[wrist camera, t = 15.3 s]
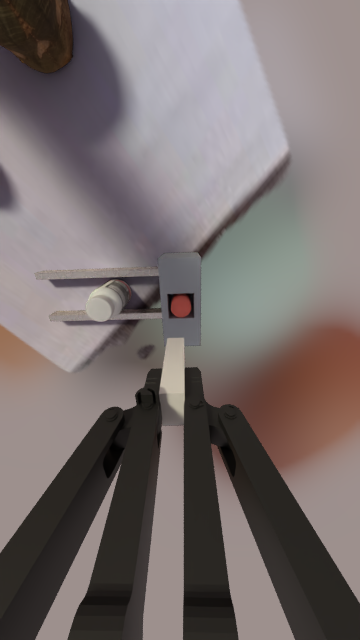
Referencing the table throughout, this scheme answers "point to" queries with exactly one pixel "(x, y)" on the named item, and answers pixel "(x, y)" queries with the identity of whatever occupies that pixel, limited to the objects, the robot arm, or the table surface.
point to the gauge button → (181, 304)
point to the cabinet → (179, 278)
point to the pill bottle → (108, 300)
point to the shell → (37, 32)
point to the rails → (102, 273)
